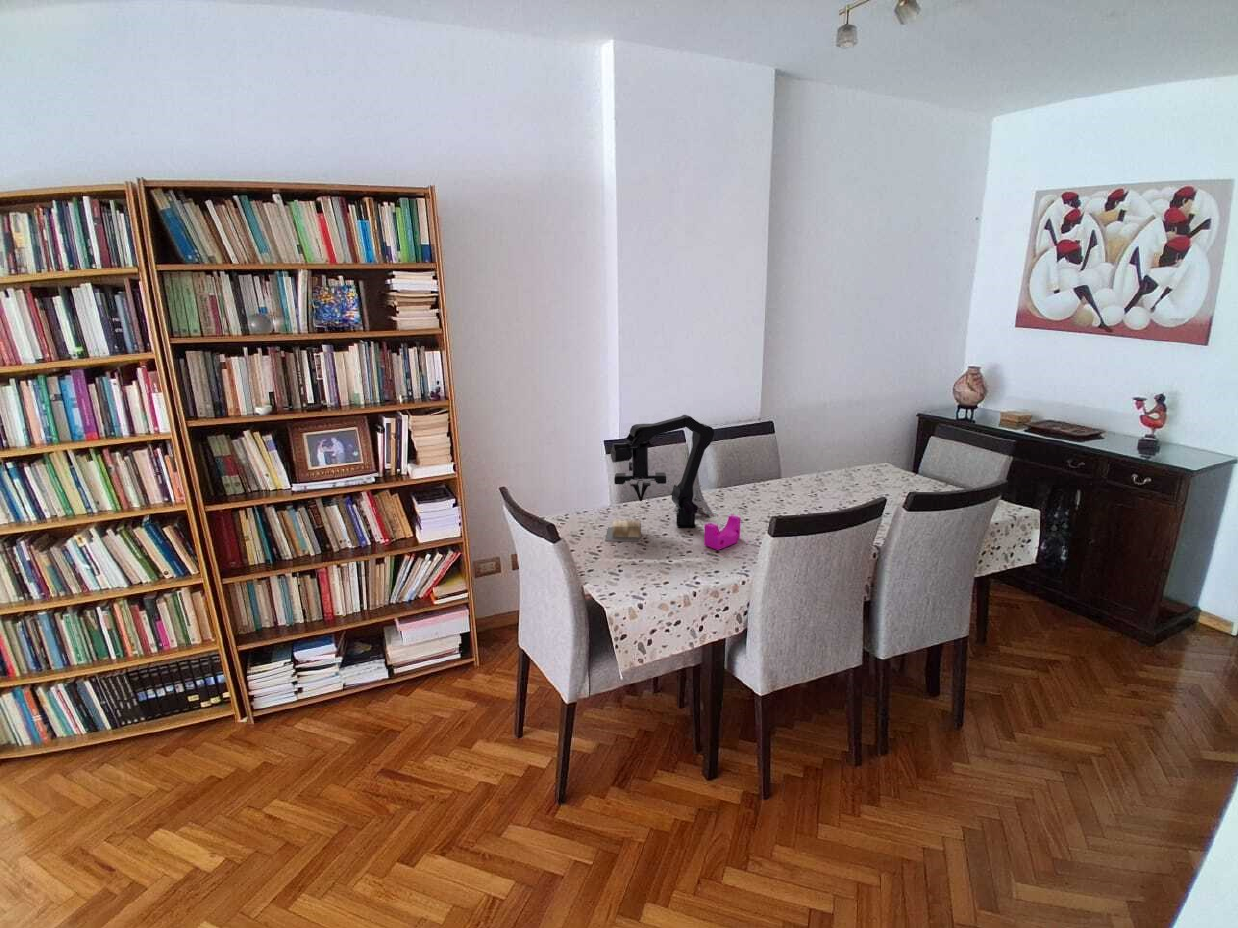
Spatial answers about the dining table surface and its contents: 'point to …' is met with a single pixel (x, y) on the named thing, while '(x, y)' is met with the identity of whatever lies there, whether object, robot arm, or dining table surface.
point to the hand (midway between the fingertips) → (640, 500)
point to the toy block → (722, 533)
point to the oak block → (627, 529)
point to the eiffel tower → (699, 498)
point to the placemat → (622, 539)
